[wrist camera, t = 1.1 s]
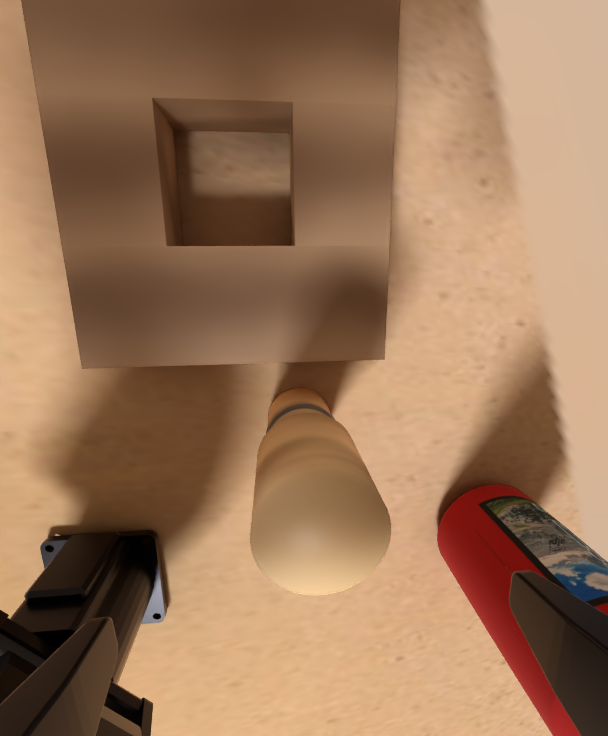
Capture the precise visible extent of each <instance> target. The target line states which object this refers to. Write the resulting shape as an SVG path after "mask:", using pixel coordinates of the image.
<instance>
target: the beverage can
mask: <svg viewBox="0 0 608 736" xmlns="http://www.w3.org/2000/svg"><path fill="white" fill-rule="evenodd" d="M437 541H438V547H439V550H440V553H441V555H442V557H443V558H444V560H445V562H446V563H447V565H448V567H449V568H450V570H451V572H452V573H453V575H454V577H455V578H456V580H457V582H458V583H459V585H460V587H461V588H462V590H463V592H464V593H465V595H466V597H467V598H468V600H469V601H470V603H471V605H472V606H473V608H474V610H475V611H476V613H477V614H478V616H479V618H480V619H481V621H482V623H483V624H484V626H485V628H486V629H487V631H488V632H489V634H490V636H491V637H492V639H493V640H494V642H495V644H496V645H497V647H498V649H499V650H500V652H501V653H502V655H503V657H504V658H505V660H506V661H507V663H508V665H509V666H510V668H511V670H512V671H513V673H514V674H515V676H516V677H517V679H518V681H519V682H520V684H521V685H522V687H523V689H524V690H525V692H526V693H527V695H528V697H529V698H530V700H531V701H532V703H533V705H534V706H535V708H536V709H537V711H538V712H539V714H540V716H541V717H542V719H543V720H544V722H545V724H546V725H547V727H548V728H549V730H550V732H551V733H552V735H553V736H581V735H580V733H579V732H578V730H577V728H576V727H575V725H574V724H573V722H572V720H571V719H570V717H569V715H568V714H567V712H566V711H565V709H564V707H563V706H562V704H561V703H560V701H559V699H558V698H557V696H556V694H555V693H554V691H553V689H552V687H551V685H550V684H549V682H548V680H547V678H546V676H545V674H544V672H543V671H542V669H541V667H540V665H539V663H538V661H537V659H536V657H535V655H534V653H533V651H532V650H531V648H530V646H529V644H528V642H527V640H526V638H525V636H524V634H523V632H522V630H521V629H520V627H519V625H518V623H517V621H516V619H515V617H514V615H513V613H512V611H511V608H510V605H509V594H510V586H511V577H512V574H513V573H514V572H516V571H525V570H531V571H534V572H536V573H537V574H539V575H541V576H542V577H544V578H546V579H547V580H549V581H551V582H553V583H554V584H556V585H558V586H559V587H561V588H563V589H564V590H566V591H568V592H569V593H571V594H573V595H574V596H576V597H578V598H579V599H581V600H583V601H585V602H586V603H588V604H590V605H591V606H593V607H595V608H596V609H598V610H600V611H601V612H603V613H605V614H606V615H608V562H607V561H605V560H604V559H603V558H602V557H601V556H600V555H598V554H597V553H596V552H595V551H594V550H592V549H591V548H590V547H589V546H588V545H586V544H585V543H584V542H583V541H582V540H580V539H579V538H578V537H577V536H575V535H574V534H573V533H572V532H571V531H569V530H568V529H567V528H566V527H565V526H563V525H562V524H561V523H560V522H559V521H557V520H556V519H555V518H554V517H552V516H551V515H550V514H549V513H548V512H546V511H545V510H544V509H543V508H541V507H540V506H539V505H538V504H536V503H535V502H534V501H533V500H532V499H530V498H529V497H528V496H527V495H525V494H524V493H523V492H521V491H520V490H518V489H516V488H513V487H510V486H507V485H499V484H494V485H485V486H481V487H478V488H475V489H473V490H470V491H468V492H467V493H465V494H463V495H462V496H460V497H459V498H458V499H457V500H455V501H454V502H453V503H452V504H451V505H450V507H449V508H448V509H447V511H446V512H445V514H444V515H443V517H442V519H441V522H440V524H439V528H438V535H437Z"/></svg>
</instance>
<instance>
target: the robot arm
mask: <svg viewBox="0 0 608 736" xmlns="http://www.w3.org/2000/svg"><path fill="white" fill-rule="evenodd" d="M145 538H148V539H150V540H151V541H147V540H146V539H145ZM50 545H52V546H53V547H51V546H50ZM40 550H41V554H42V559H43V563H44V568H45V570H44V571H43V572H42V573H41V575H40V576H39V577H38V578H37V580H36V581H35V582H34V583H33V585H32V586H31V587H30V588H29V590H28V591H27V592H26V594H25V600H24V601H23V603H22V604H21V605H20V607H19V608H18V609H17V610H16V612H15V613H14V614H13V616H12V617H11V618H10V619H9V618H7V617H8V616H9V615H8V614H6V613H5V612H3V611H1V610H0V736H150V735H151V723H152V711H153V703H152V702H150V701H149V700H147V699H145V698H142V699H140V698H139V697H137V696H135V695H134V694H132V693H130V692H129V691H127V690H125V689H124V688H122V687H121V686H119V685H117V684H118V681H119V679H120V676H121V673H122V671H123V668H124V666H125V663H126V661H127V658H128V655H129V653H130V650H131V648H132V645H133V643H134V640H135V637H136V635H137V632H138V630H139V627H140V625H141V624H147V623H158V622H161V621H163V620H164V618H165V616H166V613H167V607H166V599H165V591H164V583H163V576H162V568H161V560H160V552H159V544H158V537H157V534H156V533H155V532H154V531H151V530H144V531H128V532H109V533H94V534H79V535H68V536H53V537H49V538H47V539H46V540H45V541H44V542H43V543H42V545H41V547H40ZM509 605H510V608H511V611H512V613H513V615H514V617H515V619H516V621H517V623H518V625H519V627H520V629H521V630H522V632H523V634H524V636H525V638H526V640H527V642H528V644H529V646H530V648H531V650H532V651H533V653H534V655H535V657H536V659H537V661H538V663H539V665H540V667H541V669H542V671H543V672H544V674H545V676H546V678H547V680H548V682H549V684H550V685H551V687H552V689H553V691H554V693H555V694H556V696H557V698H558V699H559V701H560V703H561V704H562V706H563V707H564V709H565V711H566V712H567V714H568V715H569V717H570V719H571V720H572V722H573V724H574V725H575V727H576V728H577V730H578V732H579V733H580V735H581V736H608V615H606V614H605V613H603V612H601V611H600V610H598V609H596V608H595V607H593V606H591V605H590V604H588V603H586V602H585V601H583V600H581V599H579V598H578V597H576V596H574V595H573V594H571V593H569V592H568V591H566V590H564V589H563V588H561V587H559V586H558V585H556V584H554V583H553V582H551V581H549V580H547V579H546V578H544V577H542V576H541V575H539V574H537V573H536V572H534V571H531V570H525V571H516V572H514V573H513V574H512V577H511V586H510V594H509ZM157 613H159V614H157Z"/></svg>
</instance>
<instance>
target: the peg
mask: <svg viewBox="0 0 608 736" xmlns="http://www.w3.org/2000/svg"><path fill="white" fill-rule="evenodd" d="M390 537H391V522H390V516H389V513H388V510H387V508H386V506H385V504H384V502H383V500H382V498H381V496H380V494H379V492H378V490H377V488H376V486H375V484H374V482H373V480H372V478H371V476H370V474H369V472H368V470H367V468H366V466H365V464H364V462H363V460H362V458H361V456H360V454H359V452H358V450H357V448H356V446H355V444H354V442H353V440H352V438H351V436H350V435H349V433H348V432H347V430H346V429H345V428H344V427H343V426H342V425H341V424H340V423H339V422H337V421H336V420H335V419H334V417H333V416H332V415H331V413H330V411H329V408H328V406H327V404H326V402H325V401H324V399H323V398H322V397H321V396H320V395H319V394H317V393H316V392H314V391H312V390H309V389H305V388H294V389H290V390H287V391H285V392H283V393H282V394H280V395H279V396H278V397H277V398H276V399H275V400H274V401H273V403H272V404H271V407H270V409H269V413H268V428H267V431H266V435H265V436H264V438H263V439H262V442H261V444H260V447H259V450H258V456H257V467H256V478H255V489H254V500H253V511H252V522H251V533H250V544H251V551H252V554H253V557H254V560H255V562H256V564H257V566H258V567H259V569H260V570H261V571H262V573H263V574H264V575H265V576H266V577H267V578H268V579H269V580H271V581H272V582H273V583H275V584H276V585H278V586H279V587H281V588H283V589H286V590H288V591H291V592H294V593H298V594H303V595H326V594H332V593H336V592H340V591H343V590H346V589H348V588H350V587H352V586H354V585H356V584H358V583H359V582H361V581H362V580H364V579H365V578H366V577H367V576H369V575H370V574H371V573H372V572H373V571H374V570H375V569H376V567H377V566H378V565H379V564H380V562H381V561H382V559H383V557H384V556H385V553H386V551H387V549H388V546H389V542H390Z"/></svg>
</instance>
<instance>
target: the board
mask: <svg viewBox="0 0 608 736" xmlns="http://www.w3.org/2000/svg"><path fill="white" fill-rule="evenodd" d="M21 2H22V8H23V14H24V20H25V26H26V32H27V38H28V44H29V50H30V56H31V62H32V68H33V74H34V80H35V86H36V92H37V98H38V105H39V111H40V117H41V123H42V129H43V135H44V141H45V147H46V153H47V159H48V165H49V171H50V177H51V183H52V189H53V195H54V201H55V207H56V214H57V220H58V226H59V232H60V238H61V244H62V250H63V256H64V262H65V268H66V274H67V280H68V286H69V292H70V298H71V304H72V310H73V316H74V322H75V329H76V335H77V341H78V347H79V353H80V359H81V365H82V369H87V368H121V367H154V366H188V365H221V364H255V363H288V362H322V361H355V360H385V337H386V314H387V291H388V268H389V246H390V223H391V200H392V177H393V154H394V131H395V109H396V86H397V63H398V40H399V17H400V0H21ZM173 130H191V131H235V132H279V133H289V139H290V192H291V246H183V237H182V225H181V214H180V203H179V191H178V180H177V168H176V157H175V146H174V134H173Z"/></svg>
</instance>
